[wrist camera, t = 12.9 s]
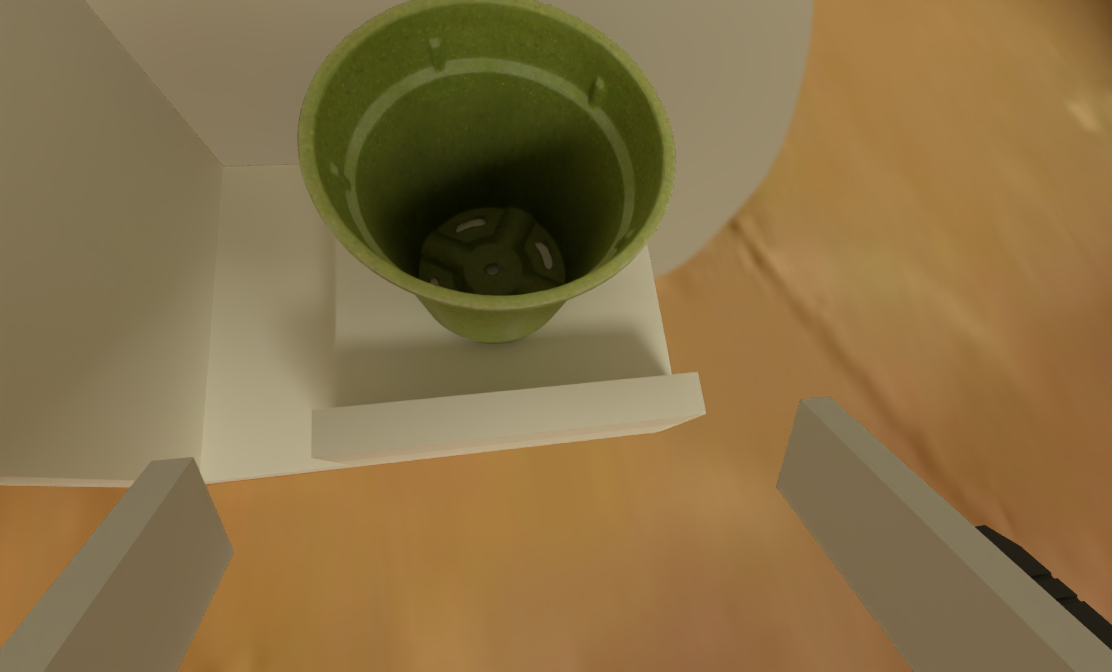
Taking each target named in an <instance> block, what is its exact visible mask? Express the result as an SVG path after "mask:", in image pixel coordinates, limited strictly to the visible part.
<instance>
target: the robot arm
mask: <svg viewBox="0 0 1112 672" xmlns="http://www.w3.org/2000/svg"><path fill="white" fill-rule="evenodd" d="M776 487H777V489H778V490H779V491H780V493H781V494H782V495H783V497H784V498H785V499H786V501H787V502H788V503H789V505H790V506H791V507H792V509H793V510H794V512H795V513H796V514H797V516H798V517H799V518H800V520H801V521H802V522H803V524H804V525H805V526H806V528H807V529H808V530H809V532H810V533H811V534H812V536H813V537H814V538H815V540H816V541H817V543H818V544H819V545H820V547H821V548H822V549H823V551H824V552H825V553H826V555H827V556H828V557H829V559H830V560H831V561H832V563H833V564H834V565H835V567H836V568H837V569H838V571H839V572H840V574H841V575H842V576H843V578H844V579H845V580H846V582H847V583H848V584H849V586H850V587H851V588H852V590H853V591H854V592H855V594H856V595H857V596H858V598H859V599H860V600H861V602H862V603H863V605H864V606H865V607H866V609H867V610H868V611H869V613H870V614H871V615H872V617H873V618H874V619H875V621H876V622H877V623H878V625H879V626H880V627H881V629H882V630H883V631H884V633H885V634H886V636H887V637H888V638H889V640H890V641H891V642H892V644H893V645H894V646H895V648H896V649H897V650H898V652H899V653H900V654H901V656H902V657H903V658H904V660H905V661H906V663H907V664H908V665H909V667H910V668H911V669H912V671H913V672H1112V625H1111V624H1110V623H1109V622H1108V621H1107V620H1105V619H1104V618H1103V617H1102V616H1101V615H1100V614H1098V613H1097V612H1096V611H1095V610H1094V609H1093V608H1091V607H1090V606H1089V605H1088V604H1087V603H1086V602H1085V601H1082V602H1081V601H1080V600H1079V599H1078V598H1077V595H1076V594H1075V593H1074V592H1073V591H1072V590H1071V589H1069V588H1068V587H1067V586H1066V585H1065V584H1064V583H1062V582H1061V581H1060V580H1059V579H1058V578H1056V579H1054V578H1053V577H1052V575H1051V572H1050V571H1049V570H1047V569H1046V568H1045V567H1044V566H1043V565H1042V564H1040V563H1039V562H1038V561H1037V560H1036V559H1035V558H1033V557H1032V556H1031V555H1030V554H1029V553H1028V552H1026V551H1025V550H1024V549H1023V548H1022V547H1021V546H1019V545H1017V544H1016V543H1014V542H1012V541H1011V540H1009V539H1007V538H1006V537H1004V536H1002V535H1001V534H999V533H997V532H996V531H994V530H992V529H990V528H989V527H987V526H985V525H983V526H976V527H974V526H973V525H972V524H971V523H970V522H969V521H967V520H966V519H965V518H964V517H963V516H962V515H961V514H960V513H959V512H958V511H956V510H955V509H954V508H953V507H952V506H951V505H950V504H949V503H948V502H946V501H945V500H944V499H943V498H942V497H941V496H940V495H939V494H938V493H936V492H935V491H934V490H933V489H932V488H931V487H930V486H929V485H928V484H926V483H925V482H924V481H923V480H922V479H921V478H920V477H919V476H918V475H916V474H915V473H914V472H913V471H912V470H911V469H910V468H909V467H908V466H906V465H905V464H904V463H903V462H902V461H901V460H900V459H899V458H898V457H896V456H895V455H894V454H893V453H892V452H891V451H890V450H889V449H888V448H887V447H885V446H884V445H883V444H882V443H881V442H880V441H879V440H878V439H877V438H875V437H874V436H873V435H872V434H871V433H870V432H869V431H868V430H867V429H865V428H864V427H863V426H862V425H861V424H860V423H859V422H858V421H857V420H855V419H854V418H853V417H852V416H851V415H850V414H849V413H848V412H847V411H845V410H844V409H843V408H842V407H841V406H840V405H839V404H838V403H837V402H835V401H834V400H833V399H832V398H831V397H820V398H810V399H800V402H799V406H798V409H797V413H796V417H795V420H794V424H793V427H792V431H791V435H790V438H789V442H788V445H787V449H786V453H785V456H784V460H783V463H782V467H781V471H780V474H779V478H778V481H777V485H776ZM233 553H234V550H233V548H232V545H231V543H230V541H229V538H228V536H227V534H226V531H225V529H224V527H223V524H222V522H221V520H220V517H219V515H218V513H217V510H216V508H215V506H214V503H213V501H212V499H211V496H210V494H209V492H208V489H207V487H206V485H205V482H204V480H203V478H202V475H201V473H200V471H199V468H198V466H197V464H196V461H195V459H194V457H187V458H177V459H166V460H156V461H151V462H150V463H149V464H148V466H147V467H146V468H145V469H144V471H143V472H142V473H141V474H140V476H139V477H138V478H137V479H136V481H135V482H134V483H133V484H132V486H131V487H130V488H129V489H128V491H127V492H126V493H125V494H124V496H123V497H122V498H121V499H120V501H119V502H118V503H117V504H116V506H115V507H114V508H113V509H112V511H111V512H110V513H109V514H108V516H107V517H106V518H105V519H104V521H103V522H102V523H101V524H100V526H99V527H98V528H97V529H96V531H95V532H94V533H93V534H92V536H91V537H90V538H89V539H88V541H87V542H86V543H85V544H84V546H83V547H82V548H81V549H80V551H79V552H78V553H77V554H76V556H75V557H74V558H73V559H72V561H71V562H70V563H69V564H68V566H67V567H66V568H65V569H64V571H63V572H62V573H61V574H60V576H59V577H58V578H57V579H56V581H55V582H54V583H53V584H52V586H51V587H50V588H49V589H48V591H47V592H46V593H45V594H44V596H43V597H42V598H41V599H40V601H39V602H38V603H37V604H36V606H35V607H34V608H33V609H32V611H31V612H30V613H29V614H28V616H27V617H26V618H25V619H24V621H23V622H22V623H21V624H20V626H19V627H18V628H17V629H16V631H15V632H14V633H13V634H12V636H11V637H10V638H9V639H8V641H7V642H6V643H5V644H4V646H3V647H2V648H1V649H0V672H177V670H178V668H179V666H180V664H181V662H182V660H183V658H184V656H185V654H186V652H187V649H188V647H189V645H190V643H191V641H192V639H193V637H194V635H195V633H196V631H197V629H198V626H199V624H200V622H201V620H202V618H203V616H204V614H205V612H206V610H207V608H208V606H209V603H210V601H211V599H212V597H213V595H214V593H215V591H216V589H217V587H218V585H219V583H220V580H221V578H222V576H223V574H224V572H225V570H226V568H227V566H228V564H229V562H230V560H231V557H232V555H233Z"/></svg>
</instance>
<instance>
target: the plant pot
mask: <svg viewBox="0 0 1112 672" xmlns="http://www.w3.org/2000/svg"><path fill="white" fill-rule="evenodd" d="M298 153H299V161H300V168H301V172H302V176H303V179H304V183H305V185H306V188H307V191H308V193H309V195H310V198H311V200H312V202H313V204H314V206H315V208H316V210H317V212H318V213H319V215H320V217H321V218H322V220H323V221H324V223H325V224H326V225H327V227H328V228H329V229H330V231H331V232H332V233H333V234H334V236H335V237H336V238H337V239H338V240H339V241H340V243H341V244H342V245H343V246H344V247H345V248H346V249H347V250H348V251H349V252H350V253H351V254H352V255H353V256H354V257H355V258H356V259H358V260H359V261H360V262H361V263H362V264H364V265H365V266H366V267H368V268H369V269H370V270H371V271H373V272H374V273H375V274H377V275H379V276H380V277H382V278H383V279H385V280H387V281H388V282H390V283H392V284H394V285H395V286H397V287H399V288H401V289H403V290H405V291H407V292H410V293H412V294H414V295H416V297H417V298H418V299H419V300H420V302H421V303H422V304H423V305H424V306H425V308H426V309H427V310H428V311H429V312H430V314H431V315H432V316H433V317H434V319H435V320H436V321H437V322H438V323H440V324H441V325H442V326H443V327H444V328H446V329H448V330H449V331H451V332H453V333H455V334H457V335H459V336H462V337H464V338H467V339H470V340H473V341H476V342H480V343H490V344H497V343H507V342H512V341H516V340H519V339H521V338H524V337H526V336H528V335H530V334H532V333H534V332H535V331H537V330H538V329H540V328H541V327H542V326H544V325H545V324H546V323H547V322H548V321H549V320H550V319H551V318H552V317H553V316H554V315H555V314H556V313H557V311H558V310H559V309H560V308H561V307H562V306H563V305H564V303H565V302H566V301H567V300H569V299H572V298H574V297H577V296H579V295H581V294H583V293H585V292H588V291H590V290H592V289H594V288H596V287H597V286H599V285H601V284H603V283H604V282H606V281H607V280H609V279H610V278H612V277H613V276H614V275H616V274H617V273H618V272H620V271H621V270H622V269H623V268H625V267H626V266H627V265H628V264H629V263H630V262H631V261H632V260H633V259H634V258H635V257H636V256H637V255H638V254H639V253H640V252H641V250H642V249H643V248H644V247H645V246H646V244H647V243H648V242H649V240H650V239H651V237H652V236H653V234H654V233H655V231H656V230H657V228H658V226H659V224H660V222H661V220H662V218H663V216H664V214H665V212H666V210H667V207H668V204H669V201H670V198H671V196H672V190H673V186H674V180H675V172H676V152H675V143H674V137H673V132H672V129H671V125H670V122H669V119H668V116H667V113H666V110H665V108H664V106H663V104H662V102H661V100H660V99H659V97H658V94H657V92H656V91H655V89H654V87H653V85H652V84H651V82H650V81H649V80H648V78H647V76H646V75H645V74H644V72H643V71H642V69H641V68H640V67H639V66H638V64H637V63H636V62H635V61H634V60H633V59H632V58H631V57H630V56H629V54H627V53H626V52H625V51H624V50H623V49H622V48H621V47H620V46H619V45H618V44H617V43H615V42H613V41H612V40H611V39H609V38H608V37H607V36H606V35H605V34H604V33H602V32H600V31H599V30H597V29H596V28H595V27H593V26H592V25H590V24H588V23H587V22H585V21H583V20H581V19H580V18H577V17H575V16H573V15H570V14H568V13H567V12H565V11H563V10H561V9H559V8H557V7H554V6H552V5H550V4H544V3H542V2H539V1H536V0H411V1H408V2H405V3H402V4H400V5H397V6H394V7H392V8H390V9H388V10H386V11H385V12H383V13H381V14H379V15H377V16H375V17H373V18H372V19H370V20H369V21H367V22H365V23H364V24H362V25H361V26H360V27H359V28H357V29H356V30H354V31H353V32H352V33H350V34H349V35H348V36H346V37H345V38H344V40H343V41H342V42H341V43H340V44H339V45H337V47H336V48H335V49H334V50H333V51H332V52H331V53H330V54H329V55H328V56H327V58H326V59H325V61H324V62H323V63H322V65H321V67H320V68H319V69H318V71H317V72H316V74H315V76H314V78H313V80H312V82H311V84H310V86H309V89H308V91H307V93H306V96H305V99H304V101H303V104H302V108H301V112H300V118H299V124H298ZM478 218H480V219H484V220H485V221H486V224H484V225H481V226H472V227H469V228H467V229H464V230H462V231H460V232H458V233H457V232H456V229H457V226H458V225H460V224H462V223H465V222H467V221H470V220H473V219H478ZM536 241H540V242H542V243H543V244H544V245H545V246H546V247H547V248H548V251H549V254H550V256H551V258H552V267H551V269H547V268H546V267H545V264H544V261H543V258H542V255H541V253H540V251H539V250H538V249H537V247H536V245H535V242H536ZM490 264H496V265H497V266H498V267H499V271H498V273H497V274H494V275H489V274H488V273H487V272H486V268H487V266H488V265H490ZM432 277H437V278H438V280H439V284H440V286H437V285H434V284H431V283H430V282H431V278H432Z"/></svg>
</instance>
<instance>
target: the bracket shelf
mask: <svg viewBox="0 0 1112 672" xmlns="http://www.w3.org/2000/svg"><path fill="white" fill-rule="evenodd" d="M484 224H486V221H485V220H484V219H480V218H478V219H473V220H470V221H467V222H465V223H462V224H460V225H458V226H457V229H456V232H457V233H458V232H460V231H462V230H464V229H467V228H469V227H472V226H481V225H484ZM535 245H536V247H537V249H538V250H539V251H540V253H541V255H542V258H543V261H544V264H545V267H546V268H547V269H551V267H552V258H551V256H550V254H549V251H548V248H547V247H546V246H545V245H544V244H543V243H542V242H540V241H536V242H535ZM498 271H499V267H498V266H497V265H496V264H490V265H488V266H487V268H486V272H487V273H488V274H489V275H494V274H497V273H498ZM430 283H431V284H434V285H437V286H440V284H439V280H438V278H437V277H432V278H431V282H430ZM705 414H706V410H705V405H704V400H703V396H702V391H701V386H700V381H699V376H698V372H692V373H682V374H672V372H671V367H670V362H669V356H668V351H667V346H666V341H665V335H664V330H663V325H662V320H661V314H660V309H659V304H658V299H657V293H656V288H655V283H654V278H653V272H652V268H651V262H650V257H649V251H648V247H647V244H646V246H645V247H644V248H643V249H642V250H641V252H640V253H639V254H638V255H637V256H636V257H635V258H634V259H633V260H632V261H631V262H630V263H629V264H628V265H627V266H626V267H625V268H623V269H622V270H621V271H620V272H618V273H617V274H616V275H614V276H613V277H612V278H610V279H609V280H607V281H606V282H604V283H603V284H601V285H599V286H597V287H596V288H594V289H592V290H590V291H588V292H585V293H583V294H581V295H579V296H577V297H574V298H572V299H569V300H567V301H566V302H565V303H564V305H563V306H562V307H561V308H560V309H559V310H558V311H557V313H556V314H555V315H554V316H553V317H552V318H551V319H550V320H549V321H548V322H547V323H546V324H545V325H544V326H542V327H541V328H540V329H538V330H537V331H535V332H534V333H532V334H530V335H528V336H526V337H524V338H521V339H519V340H516V341H512V342H507V343H497V344H490V343H480V342H476V341H473V340H470V339H467V338H464V337H462V336H459V335H457V334H455V333H453V332H451V331H449V330H448V329H446V328H444V327H443V326H442V325H441V324H440V323H438V322H437V321H436V320H435V319H434V317H433V316H432V315H431V314H430V312H429V311H428V310H427V309H426V308H425V306H424V305H423V304H422V303H421V302H420V300H419V299H418V298H417V297H416V295H414V294H412V293H410V292H407V291H405V290H403V289H401V288H399V287H397V286H395V285H394V284H392V283H390V282H388V281H387V280H385V279H383V278H382V277H380V276H379V275H377V274H375V273H374V272H373V271H371V270H370V269H369V268H368V267H366V266H365V265H364V264H362V263H361V262H360V261H359V260H358V259H356V258H355V257H354V256H353V255H352V254H351V253H350V252H349V251H348V250H347V249H346V248H345V247H344V246H343V245H342V244H341V243H340V241H339V240H338V239H337V238H336V237H335V236H334V234H333V233H332V232H331V231H330V229H329V228H328V227H327V225H326V224H325V223H324V221H323V220H322V218H321V217H320V215H319V213H318V212H317V210H316V208H315V206H314V204H313V202H312V200H311V198H310V195H309V193H308V191H307V188H306V185H305V183H304V179H303V176H302V172H301V168H300V164H286V165H285V164H284V165H253V166H222V164H221V163H220V162H219V161H218V160H217V159H216V157H215V156H214V155H213V154H212V153H211V151H210V150H209V149H208V148H207V147H206V145H205V144H204V143H203V142H202V141H201V139H200V138H199V137H198V136H197V135H196V133H195V132H194V131H193V130H192V129H191V127H190V126H189V125H188V124H187V123H186V121H185V120H184V119H183V118H182V117H181V115H180V114H179V113H178V112H177V111H176V109H175V108H174V107H173V106H172V105H171V104H170V102H169V101H168V100H167V99H166V97H165V96H164V95H163V94H162V93H161V92H160V90H159V89H158V88H157V87H156V86H155V84H154V83H153V82H152V81H151V80H150V79H149V77H148V76H147V75H146V74H145V72H144V71H143V70H142V69H141V68H140V66H139V65H138V64H137V63H136V62H135V60H134V59H133V58H132V57H131V56H130V54H129V53H128V52H127V51H126V50H125V48H124V47H123V46H122V45H121V44H120V43H119V41H118V40H117V39H116V38H115V36H114V35H113V34H112V33H111V32H110V31H109V29H108V28H107V27H106V26H105V25H104V23H103V22H102V21H101V20H100V19H99V17H98V16H97V15H96V14H95V13H94V11H93V10H92V9H91V8H90V7H89V5H88V4H87V3H86V2H85V1H84V0H0V485H15V486H77V487H131V486H132V484H133V483H134V482H135V481H136V479H137V478H138V477H139V476H140V474H141V473H142V472H143V471H144V469H145V468H146V467H147V466H148V464H149V463H150V462H151V461H156V460H166V459H177V458H187V457H194V459H195V461H196V464H197V466H198V468H199V471H200V473H201V475H202V478H203V480H204V482H205V484H211V483H220V482H229V481H237V480H246V479H255V478H264V477H272V476H281V475H290V474H298V473H307V472H316V471H324V470H333V469H342V468H350V467H359V466H368V465H377V464H385V463H394V462H403V461H411V460H420V459H429V458H437V457H446V456H455V455H463V454H472V453H481V452H489V451H498V450H507V449H516V448H524V447H533V446H542V445H550V444H559V443H568V442H576V441H585V440H594V439H602V438H611V437H620V436H629V435H637V434H646V433H655V432H660V431H662V430H665V429H668V428H670V427H673V426H676V425H678V424H681V423H684V422H686V421H689V420H691V419H694V418H697V417H699V416H702V415H705Z"/></svg>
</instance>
